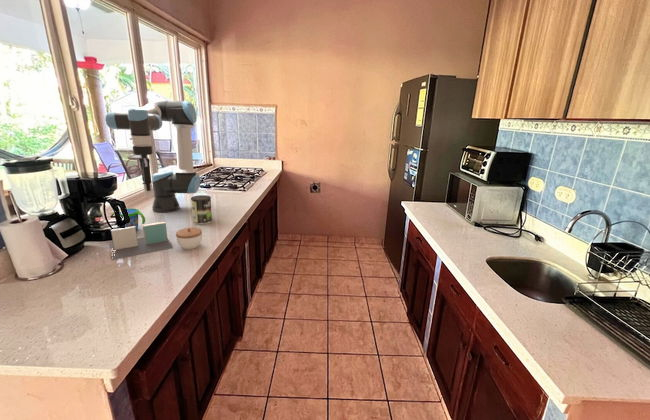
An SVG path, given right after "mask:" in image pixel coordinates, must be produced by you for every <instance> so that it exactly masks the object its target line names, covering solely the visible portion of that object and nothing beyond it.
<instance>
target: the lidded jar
mask: <svg viewBox="0 0 650 420" xmlns="http://www.w3.org/2000/svg"><path fill="white" fill-rule="evenodd" d="M175 236H176V242H177V244H178V246H179V247H180V248H182V249H184V250H193V249H196V248H198V247H199V246H200V245H201V244H202V240H203V230H202V229H201V228H199V227H185V228H182V229H179V230H177V231H176V232H175Z"/></svg>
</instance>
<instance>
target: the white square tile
mask: <svg viewBox="0 0 650 420" xmlns="http://www.w3.org/2000/svg"><path fill="white" fill-rule="evenodd" d="M110 233H111V239H112V243H113V246H114V250H119V249H125V248H130V247H136V246H138V240H137V238H138V235H137V230H136V227H135V226H132V227H125V228H120V227H118V228H113V229H112V228H111V229H110Z"/></svg>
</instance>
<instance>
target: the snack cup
mask: <svg viewBox="0 0 650 420" xmlns="http://www.w3.org/2000/svg"><path fill="white" fill-rule="evenodd" d="M126 209H127V212H128V216H129V218H130V222H129V223H127V224H125V227H132V226H135V227H136V231H137V230H138V229H139V216H140V217H141V221H142V222H141V224H142V225H145V223H146V217H145V216H144V214H143V213H142V212H141V211H140V210H139V209H138V208H132V207H131V208H126ZM113 215H114V212H113V213H111V215H110V217H111V216H113ZM120 216H121V217H122V218H123V215H122V214H121V212H120ZM113 217H114V216H113Z"/></svg>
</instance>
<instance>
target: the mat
mask: <svg viewBox="0 0 650 420" xmlns="http://www.w3.org/2000/svg"><path fill="white" fill-rule="evenodd" d="M137 240H138V246H136V247H130V248H125V249H119V250H116V251H115V253H113V256H111V254H112V253H111V254H110V260H111V259H112V257H113V259H112V260H111V261H115V260H119V259H124V258H130V257H135V256H140V255H147V254H151V253H156V252H162V251H167V250H171V249H174V247H173V245H172V244H171V241H170V240H169V239H168V241H164V242H158V243H153V244H147V245H146V243H145V236H144V237H137ZM108 245H109V249H110V248H111V249H112V248H113V250H114V246H113V242H109V244H108ZM112 252H114V251H112ZM114 254H115V256H114Z"/></svg>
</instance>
